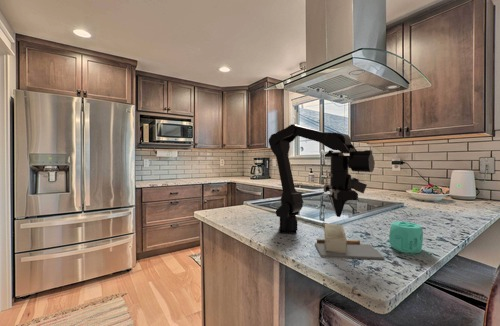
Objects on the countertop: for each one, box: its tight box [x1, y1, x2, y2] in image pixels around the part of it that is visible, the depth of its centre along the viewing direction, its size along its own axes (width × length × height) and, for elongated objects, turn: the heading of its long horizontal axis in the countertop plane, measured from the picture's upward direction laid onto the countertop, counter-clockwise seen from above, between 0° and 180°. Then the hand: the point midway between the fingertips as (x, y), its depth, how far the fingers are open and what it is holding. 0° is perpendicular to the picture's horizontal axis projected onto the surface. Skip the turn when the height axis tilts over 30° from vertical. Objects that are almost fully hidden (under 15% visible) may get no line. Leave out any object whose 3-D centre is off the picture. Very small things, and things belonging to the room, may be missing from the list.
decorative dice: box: [388, 221, 424, 255], centre depth 78 cm, size 8×8×8 cm
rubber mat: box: [314, 242, 385, 260], centre depth 75 cm, size 18×10×1 cm, turn 86°
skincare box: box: [323, 223, 348, 254], centre depth 78 cm, size 6×4×12 cm
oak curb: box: [316, 238, 361, 244], centre depth 81 cm, size 14×1×2 cm, turn 86°
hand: (338, 216), depth 81 cm, fingers closed
